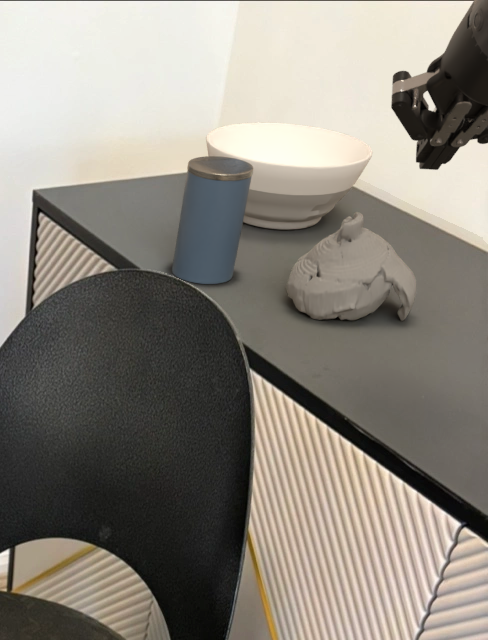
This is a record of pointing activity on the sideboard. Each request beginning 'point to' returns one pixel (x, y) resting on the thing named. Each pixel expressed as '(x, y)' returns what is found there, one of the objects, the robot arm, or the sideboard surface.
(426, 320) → the sideboard surface
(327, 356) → the sideboard surface
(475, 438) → the sideboard surface
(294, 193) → the bowl
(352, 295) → the grey clay mound
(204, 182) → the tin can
